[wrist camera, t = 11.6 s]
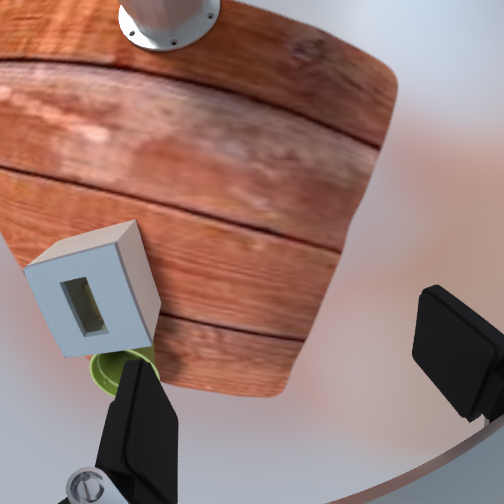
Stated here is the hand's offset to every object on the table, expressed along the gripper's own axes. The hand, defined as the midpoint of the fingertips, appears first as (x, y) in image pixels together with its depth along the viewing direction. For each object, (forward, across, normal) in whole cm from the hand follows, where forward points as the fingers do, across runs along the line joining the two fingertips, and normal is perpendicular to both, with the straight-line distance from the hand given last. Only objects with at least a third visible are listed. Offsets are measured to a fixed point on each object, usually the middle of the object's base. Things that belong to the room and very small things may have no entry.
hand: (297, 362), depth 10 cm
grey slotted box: (+30, +18, +6) cm, 36 cm away
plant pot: (+31, +18, +17) cm, 39 cm away
